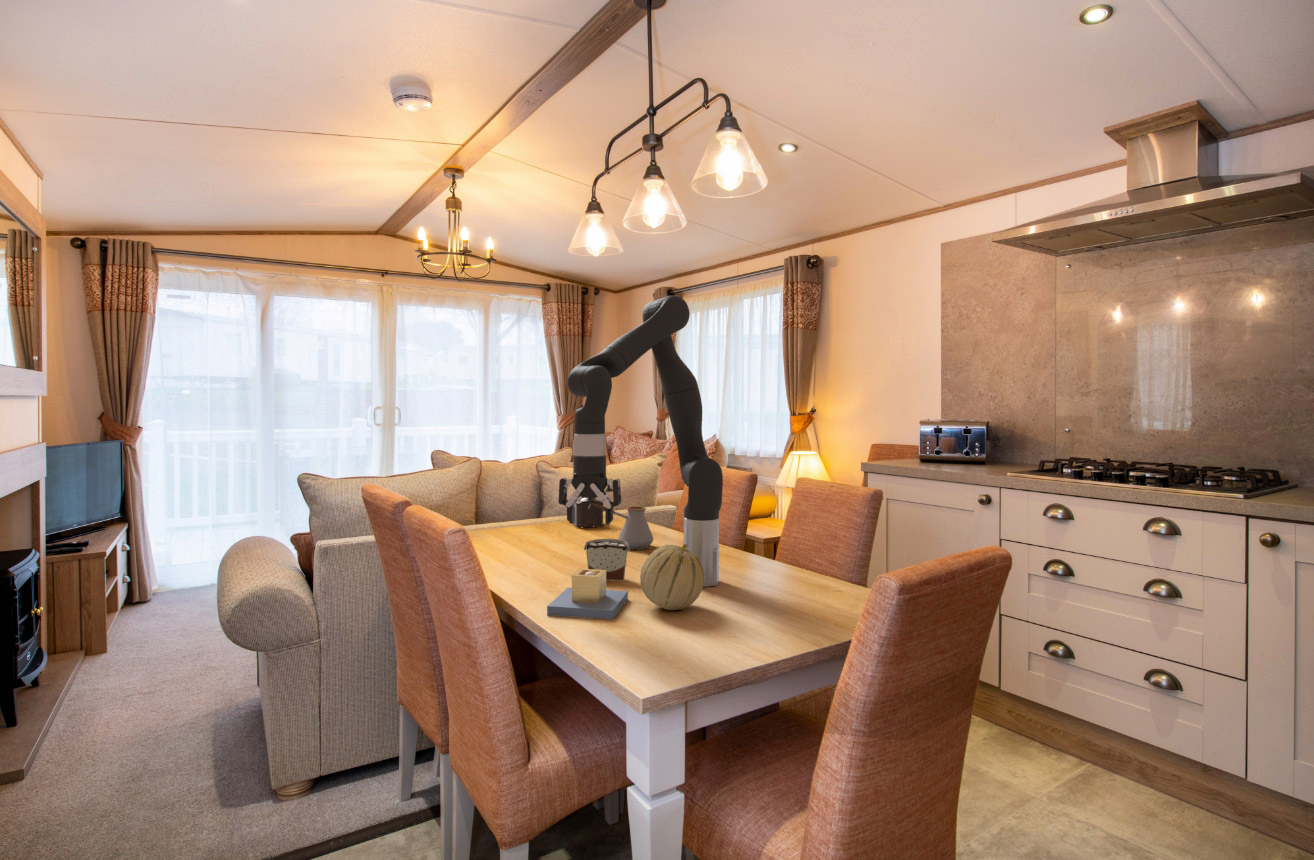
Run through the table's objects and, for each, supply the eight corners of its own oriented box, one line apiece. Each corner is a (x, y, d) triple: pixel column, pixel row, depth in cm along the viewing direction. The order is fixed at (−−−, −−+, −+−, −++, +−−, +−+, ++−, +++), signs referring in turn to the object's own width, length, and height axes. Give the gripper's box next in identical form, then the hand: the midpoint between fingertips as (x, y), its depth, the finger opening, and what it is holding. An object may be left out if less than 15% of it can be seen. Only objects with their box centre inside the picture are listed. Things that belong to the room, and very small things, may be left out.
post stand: (627, 599, 160) (628, 565, 160) (612, 619, 146) (612, 582, 145) (567, 595, 163) (567, 562, 163) (547, 614, 148) (547, 578, 148)
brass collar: (606, 595, 157) (606, 570, 156) (599, 603, 150) (599, 577, 150) (579, 593, 158) (579, 568, 158) (571, 601, 152) (571, 575, 151)
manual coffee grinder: (576, 528, 248) (576, 480, 247) (571, 523, 258) (571, 477, 257) (617, 526, 252) (617, 479, 251) (610, 521, 263) (611, 476, 262)
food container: (632, 575, 183) (632, 539, 182) (629, 581, 176) (629, 543, 176) (588, 573, 184) (588, 537, 183) (583, 579, 178) (583, 542, 177)
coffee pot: (649, 542, 224) (650, 498, 224) (656, 550, 213) (657, 503, 212) (586, 545, 220) (586, 499, 219) (589, 552, 209) (590, 505, 208)
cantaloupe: (630, 602, 158) (631, 539, 157) (686, 596, 164) (687, 535, 163) (655, 622, 144) (656, 553, 143) (715, 614, 150) (716, 548, 149)
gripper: (623, 452, 155) (623, 521, 156) (564, 451, 157) (565, 519, 158) (616, 455, 148) (616, 527, 148) (554, 454, 150) (554, 525, 151)
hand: (589, 523), depth 153 cm, fingers open, 8 cm apart
